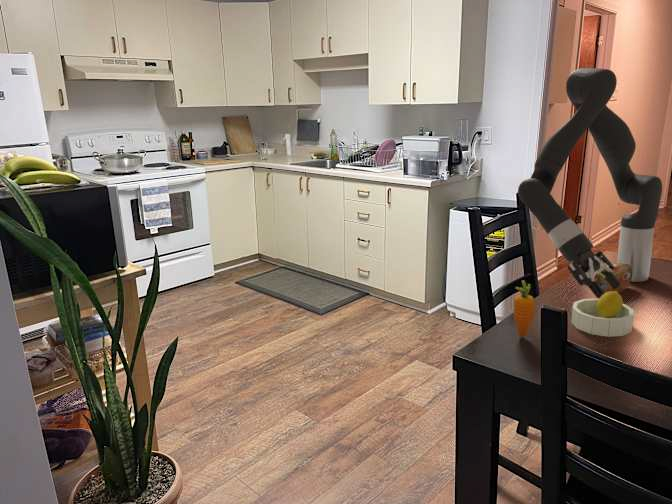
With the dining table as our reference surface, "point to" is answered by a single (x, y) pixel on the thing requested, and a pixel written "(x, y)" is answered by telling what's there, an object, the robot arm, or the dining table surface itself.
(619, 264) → the tin
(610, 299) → the lemon
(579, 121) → the robot arm
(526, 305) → the carrot
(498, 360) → the dining table surface
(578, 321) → the bowl
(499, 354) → the dining table surface
